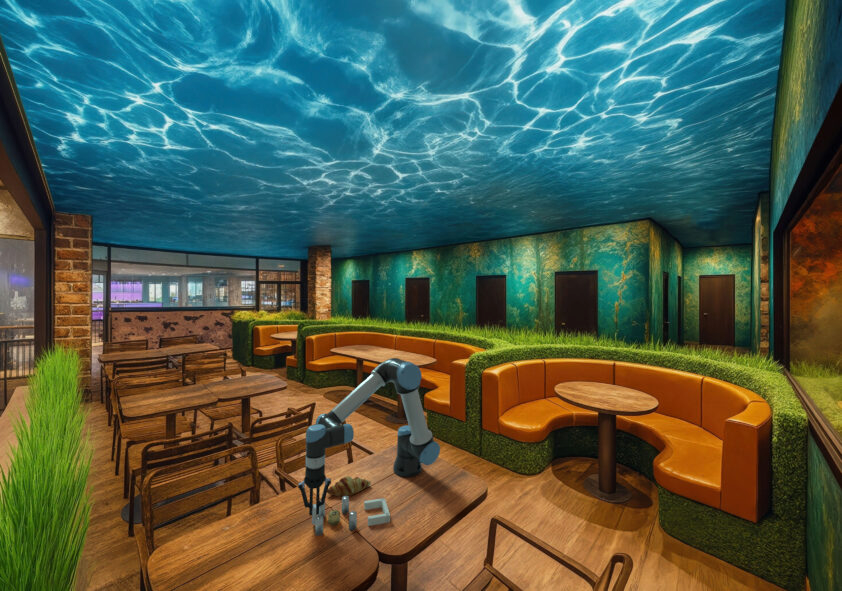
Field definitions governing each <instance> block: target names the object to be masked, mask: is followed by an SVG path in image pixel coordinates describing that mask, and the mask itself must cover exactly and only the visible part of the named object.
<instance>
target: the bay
mask: <svg viewBox="0 0 842 591" xmlns="http://www.w3.org/2000/svg"><path fill="white" fill-rule="evenodd" d="M363 503H364V504H363V508H364V510H365V511H366V510H373V509H378V508H380V509H382V513H380V514H375V515H368V516H367V526H368V527H369V526H371V527H372V526H377V525H383V524H388V523H390V522H391V514H390V511H389V507H388V505H387V501H386V498H385V497H384V498H383V497H382V498H376V499H371V500H370V499H369V500H364V502H363Z"/></svg>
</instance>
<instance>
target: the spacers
mask: <svg viewBox="0 0 842 591" xmlns="http://www.w3.org/2000/svg"><path fill="white" fill-rule="evenodd" d="M349 496H350V495H348V496H341V513H342V514H344V515H347V514H348V515H349V516H348V530H349V531H355V530H356V529H357V522H358V520H357V518H358V517H357V516H358V513H357V511H355V510H352V511H350V497H349ZM325 517H326V501H325V502H324V505H320V506H319V514H318V515H316V519H315V524H314V526H315V530H314V534H315V536H317V537H318V536H320V537H321V536H322V535H323V533H324V518H325Z"/></svg>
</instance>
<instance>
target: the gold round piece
mask: <svg viewBox="0 0 842 591" xmlns="http://www.w3.org/2000/svg"><path fill="white" fill-rule="evenodd" d="M340 520H341V512H340V510H338V509H332V510H331V511H328V521H327V522H328V523H327V525H328V526H330V525H331V526H332V527H334V526H335V525H336V526H337V524H338V523H339V522H341V521H340ZM339 524H340V523H339ZM339 524H338V525H339ZM331 526H330V527H331Z"/></svg>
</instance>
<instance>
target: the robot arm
mask: <svg viewBox="0 0 842 591" xmlns="http://www.w3.org/2000/svg"><path fill="white" fill-rule="evenodd" d="M422 378H423V377H422V371H421V369H420V367H419V366H418V365H417V364H414V363H413V362H410V361H408V360H407V361H406V360H404V359H400V358H398V357H392V358H391V357H390V358H388V359H387V360H386V359H385V360H384V361H382V362H381V363H380V364H378V365H377V366H376V367H375V368H374V369H372V370H371V372H370V375H369V376H367V378H366V379H364V380H363V381H362V382H361V383H360V384H359V385H358V386H357V387H355V389H353V390H352V391H351V392H350V393H349V394H348V395H346V397H344V398H343V399H342V400H341V401H340V402H339V403H338V404H337V405H335V407H333V408H332V409H331V410H330V411H329V412H328V413H322V414H319V415H318V416H317V418H316V420H315V424H312V425H310V426H308V428H307V429H306V434H305V469H304V470H305V472H304V478H303V481H299V482H298V484H297V485H298V487H297V488H298V489H299V490H300V492H301V496H302V502H303V505H304V508H309V509H308V510H309V513H308V514H309V517H310V516H312V517H311V525H312V526H313V525H315V519H316V517H317V516H318V514H319V506H320V505H324V502H325V503H326V496H327V494H328V493H327V490H328V489H329V488H330V486H331V485H332V479H331V478H330V477H329V478H328V477H327V476H326V473H325V472H326V471H325V469H326V467H325V466H326V449H330V448H332V447H337V446H341V445H346V444H347V443H350V442H352V441H353V440H354V435H355V432H354V428H353V426H352V424H350V423H344V424H343V422H344V421H346V420H347V418H349V417H350V416H351V415H352V414H353V413H354V412H355V411H356V410H357V409H358V408H359V407H360V406H362V405H363V403H365V402H366V401H367V400H368V399H369V398H370V397H371V396H372V395H373V394H374V393H375V392H376V391H378V390H379V388H381V387H385V386H386V385H387V384H388V383H393V384H394V388H395V391H396V394H398V395H400V397H401V401H402V404H403V405H402V406H403V409H404V412H405V415H406V419H407V424H408V425H402V426H401V427H398V429H397V434H396V436H397V443H396V444H397V445H396V448H397V449H396V452H397V453H396V458H395V459H394V462H393V469H392V470H393V472H394V474H396V475H397V476H399V477H404V478H412V477H413V478H414V477H416V476H419V475H420V474H421V473H422V471H421V470H422V468H423V466H422V465H425V466H430V465H432V464H434V463H435V462H436V461H437V459H438V457H439V456H440V452H441V446H440V444H439V443H438V442H437V441H435V440H434V436H433V433H432V431H431V430H430V429H428V424H427V420H426V416H425V412H424V409H423V406H422V402H421V398H420V392H419V388H420V385H421V380H422ZM322 485H324V486H323V490H322V491H323V492H322V495H321V494H320V491H321V490H320V489H321V487H322ZM305 486H306V487H307V488H308V489H309V500H308V496H307V493H306V488H305ZM314 489H315V491H316V492H315V494H316V495H315V496H316V497H315V503H314V504H313V502H314V501H313V500H314V498H313V497H314ZM320 495H321V498H320Z"/></svg>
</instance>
